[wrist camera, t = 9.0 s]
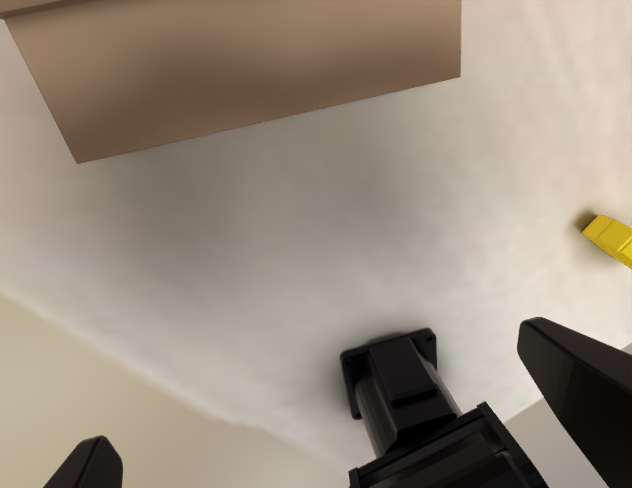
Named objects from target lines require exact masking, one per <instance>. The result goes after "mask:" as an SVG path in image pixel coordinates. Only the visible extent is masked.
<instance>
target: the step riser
mask: <svg viewBox="0 0 632 488" xmlns="http://www.w3.org/2000/svg"><path fill="white" fill-rule="evenodd" d="M0 19H4V21H5V23H6V25H7V27H8V28H9V30H10V32H11V34H12V36H13V38H14V40H15V42H16V44H17V46H18V48H19V50H20V52H21V54H22V56H23V58H24V60H25V62H26V64H27V66H28V68H29V70H30V72H31V74H32V76H33V78H34V80H35V82H36V84H37V86H38V88H39V90H40V92H41V94H42V96H43V98H44V100H45V102H46V104H47V106H48V108H49V110H50V112H51V114H52V116H53V118H54V120H55V121H56V123H57V125H58V127H59V129H60V131H61V133H62V135H63V137H64V139H65V141H66V143H67V145H68V147H69V149H70V151H71V153H72V155H73V157H74V159H75V161H76V163H77V164H80V163H84V162H88V161H93V160H97V159H102V158H106V157H110V156H115V155H119V154H124V153H128V152H132V151H137V150H141V149H146V148H150V147H154V146H159V145H163V144H168V143H172V142H176V141H181V140H185V139H190V138H194V137H198V136H203V135H207V134H212V133H216V132H220V131H225V130H229V129H234V128H238V127H242V126H247V125H251V124H256V123H260V122H264V121H269V120H273V119H278V118H282V117H286V116H291V115H295V114H299V113H304V112H308V111H313V110H317V109H321V108H326V107H330V106H335V105H339V104H343V103H348V102H352V101H357V100H361V99H365V98H370V97H374V96H379V95H383V94H387V93H392V92H396V91H401V90H405V89H409V88H414V87H418V86H423V85H427V84H431V83H436V82H440V81H445V80H449V79H453V78H458V77H460V70H461V0H0Z"/></svg>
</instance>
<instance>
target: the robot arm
mask: <svg viewBox="0 0 632 488" xmlns="http://www.w3.org/2000/svg"><path fill="white" fill-rule="evenodd" d="M427 337H428V338H427ZM517 351H518V355H519V357H520V359H521V361H522V362H523V364H524V365H525V367H526V369H527V370H528V372H529V374H530V375H531V377H532V378H533V380H534V382H535V383H536V385H537V387H538V388H539V390H540V391H541V393H542V395H543V396H544V398H545V400H546V401H547V403H548V404H549V406H550V408H551V409H552V411H553V412H554V414H555V415H556V417H557V419H558V420H559V421H560V423H561V424H562V426H563V427H564V428H565V430H566V431H567V432H568V434H569V435H570V436H571V438H572V439H573V440H574V442H575V443H576V444H577V446H578V447H579V448H580V450H581V451H582V452H583V454H584V455H585V456H586V458H587V459H588V460H589V461H590V463H591V464H592V465H593V467H594V468H595V470H596V471H597V472H598V473H599V475H600V476H601V477H602V479H603V480H604V481H605V483H606V484H607V485H608V486H609V488H632V355H630V354H628V353H626V352H623V351H621V350H619V349H616V348H614V347H612V346H609V345H607V344H605V343H602V342H600V341H597V340H595V339H593V338H590V337H588V336H586V335H583V334H581V333H579V332H576V331H574V330H571V329H569V328H567V327H564V326H562V325H560V324H557V323H555V322H553V321H550V320H548V319H545V318H543V317H535V318H531V319H527V320H524V321H522V323H521V324H520V328H519V336H518V343H517ZM348 359H350V360H348ZM340 362H341V367H342V372H343V376H344V381H345V386H346V391H347V396H348V401H349V406H350V411H351V415H352V417H353V419H355V420H360V419H363V421H364V424H365V427H366V430H367V432H368V435H369V438H370V441H371V444H372V447H373V450H374V453H375V455H376V458H377V459H375V460H373V461H371V462H369V463H368V464H366V465H364V466H362V467H360V468H358V467H356V468H354V469H352V470H350V471H349V479H350V487H349V488H549V487H548V485H547V484H546V483H545V481H544V479H543V478H542V476H541V475H540V473H539V472H538V470H537V469H536V467H535V466H534V465H533V463H532V462H531V460H530V459H529V458H528V456H527V455H526V454H525V452H524V451H523V450H522V448H521V447H520V446H519V444H518V443H517V442H516V440H515V439H514V438H513V437H512V435H511V434H510V433H509V431H508V430H507V429H506V427H505V426H504V425H503V424H502V422H501V421H500V420H499V418H498V417H497V416H496V414H495V413H494V412H493V411H492V409H491V408H490V407H489V405H488V404H487V403H486V401H484V402H483V403H481V404H479V405H477V408H475V409H473V410H471V411H469V412H467V413H465V414H462V412H461V411H460V409H459V407H458V406H457V404H456V402H455V401H454V399H453V397H452V396H451V394H450V393H449V391H448V389H447V388H446V386H445V384H444V383H443V381H442V379H441V378H440V376H439V374H438V373H437V353H436V335H435V334H434V332H433V331H432V330H429V329H428V330H423V331H420V332H416V333H413V334H409V335H406V336H402V337H399V338H395V339H391V340H388V341H384V342H381V343H377V344H374V345H370V346H367V347H363V348H360V349H356V350H353V351H349V352H346V353H344V354H342V355H341V357H340ZM122 478H123V464H122V460H121V457H120V456H119V454H118V453H117V452H116V450H115V449H114V447H113V446H112V444H111V443H110V441H109V440H108V439H107V437H105V436H103V435H100V436H96V437H93V438H89V439H85V440H83V441H82V442H80V443H79V444H78V445H77V446H76V448H75V449H74V450H73V451H72V452H71V454H70V455H69V456H68V457H67V459H66V460H65V461H64V462H63V464H62V465H61V466H60V467H59V469H58V470H57V471H56V473H55V474H54V475H53V476H52V477H51V478H50V480H49V481H48V482H47V483H46V484H45V486H44V487H43V488H122Z"/></svg>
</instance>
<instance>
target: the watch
mask: <svg viewBox="0 0 632 488" xmlns="http://www.w3.org/2000/svg"><path fill="white" fill-rule="evenodd" d="M582 234H583V235H585V236H586V237H588V238H589V239H590V240H591V241H593V242H594V243H595V244H596V245H598V246H599V247H600V248H602V249H603V250H604V251H605V252H607V253H608V254H610V255H611V256H612V257H614V258H615V259H617V260H618V261H620V262H621V263H624V265H626V266H628V267H629V268H631V269H632V228H630V227H628V226H626V225H624V224H622V223H620V222H619V221H616V220H614V219H612V218H609V217H606V216H604V215H599V216H597V217H596V218H595V219H594V220H593V221H592V222H591V223H590V224H589V225H588V226H587V227H586V228H585V229H584V230H583V231H582Z"/></svg>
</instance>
